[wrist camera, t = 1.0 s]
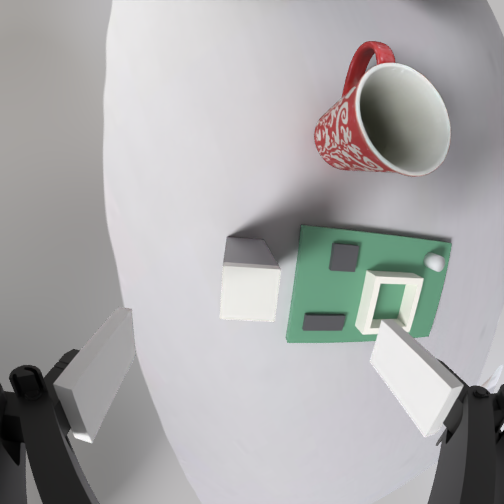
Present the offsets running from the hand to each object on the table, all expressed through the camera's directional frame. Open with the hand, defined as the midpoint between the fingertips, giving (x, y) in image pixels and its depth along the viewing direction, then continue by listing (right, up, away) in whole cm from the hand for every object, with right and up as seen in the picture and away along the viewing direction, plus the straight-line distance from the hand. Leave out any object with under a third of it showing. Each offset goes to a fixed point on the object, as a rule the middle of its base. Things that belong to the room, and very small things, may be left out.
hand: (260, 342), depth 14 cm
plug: (-1, +4, +18) cm, 19 cm away
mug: (+10, +19, +16) cm, 27 cm away
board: (+15, 0, +20) cm, 25 cm away
